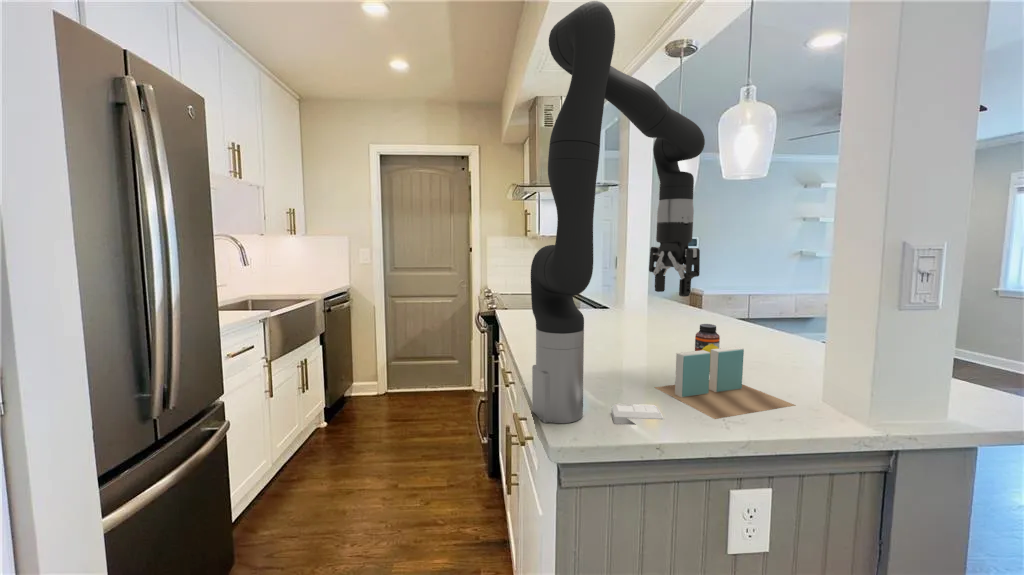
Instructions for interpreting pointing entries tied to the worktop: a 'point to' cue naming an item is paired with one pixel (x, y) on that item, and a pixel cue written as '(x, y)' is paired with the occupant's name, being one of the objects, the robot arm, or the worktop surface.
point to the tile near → (692, 373)
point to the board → (729, 401)
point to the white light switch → (634, 413)
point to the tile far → (726, 369)
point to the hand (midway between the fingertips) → (671, 293)
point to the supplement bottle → (706, 337)
